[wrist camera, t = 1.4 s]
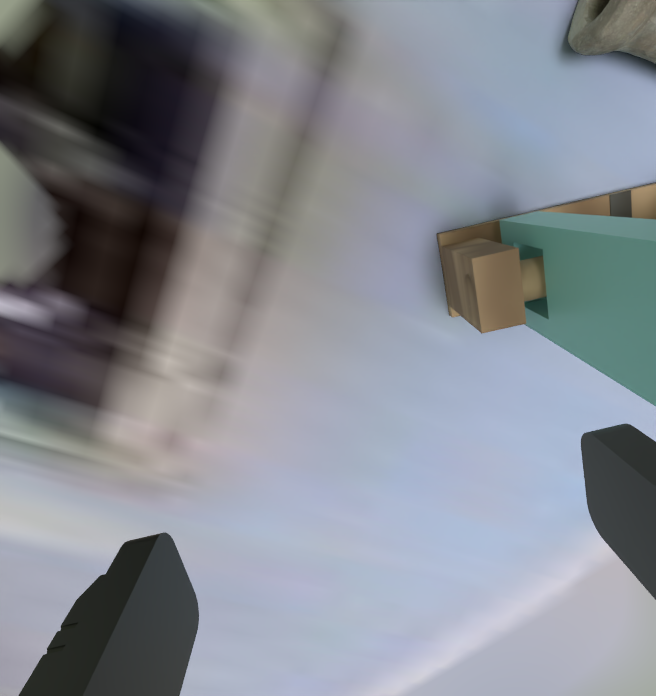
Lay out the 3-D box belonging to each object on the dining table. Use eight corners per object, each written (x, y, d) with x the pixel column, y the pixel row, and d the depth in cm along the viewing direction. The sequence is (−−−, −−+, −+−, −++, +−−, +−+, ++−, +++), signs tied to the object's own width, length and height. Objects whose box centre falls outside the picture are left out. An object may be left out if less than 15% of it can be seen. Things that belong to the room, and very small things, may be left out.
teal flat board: (510, 315, 33) (667, 413, 18) (499, 220, 31) (665, 242, 16) (546, 307, 33) (734, 399, 18) (537, 211, 31) (740, 225, 16)
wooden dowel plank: (449, 314, 35) (485, 347, 28) (436, 233, 34) (471, 244, 26) (690, 260, 34) (795, 278, 27) (690, 174, 33) (803, 168, 25)
